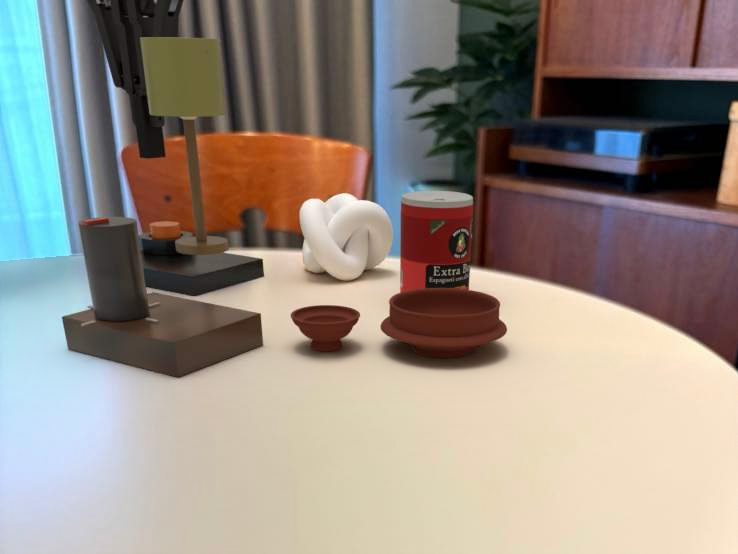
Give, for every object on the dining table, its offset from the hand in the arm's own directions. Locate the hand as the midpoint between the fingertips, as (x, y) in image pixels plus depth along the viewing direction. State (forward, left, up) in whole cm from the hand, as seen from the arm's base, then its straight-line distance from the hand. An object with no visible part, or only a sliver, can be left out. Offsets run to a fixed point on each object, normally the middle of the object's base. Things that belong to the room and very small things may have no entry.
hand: (152, 157), depth 99 cm
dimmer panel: (+24, -24, -13) cm, 36 cm away
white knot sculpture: (+20, +9, -13) cm, 26 cm away
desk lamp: (+10, -4, -9) cm, 14 cm away
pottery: (+42, -12, -13) cm, 46 cm away
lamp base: (+5, -3, -13) cm, 14 cm away
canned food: (+36, +5, -13) cm, 39 cm away
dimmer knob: (+21, -26, -10) cm, 35 cm away
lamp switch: (0, 0, -9) cm, 9 cm away
